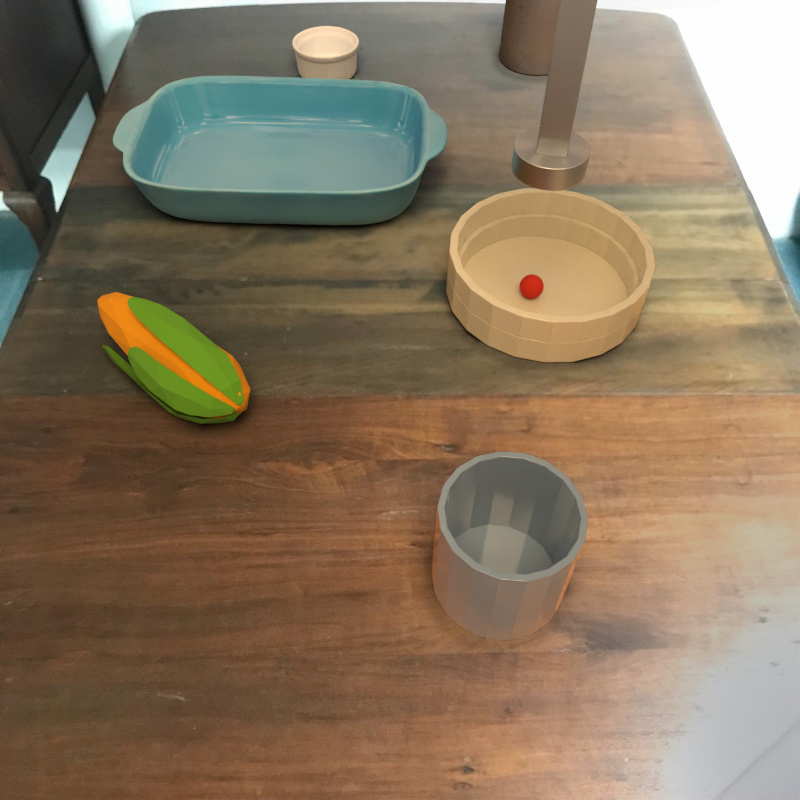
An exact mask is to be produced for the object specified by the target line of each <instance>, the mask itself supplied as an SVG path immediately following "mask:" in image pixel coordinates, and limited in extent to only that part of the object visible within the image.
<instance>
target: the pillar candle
mask: <svg viewBox="0 0 800 800" xmlns="http://www.w3.org/2000/svg"><path fill="white" fill-rule="evenodd" d="M559 3H560V0H505V4H504V11H503V18H502V27H501V35H500V45H499V49H498V58H499V61H500V63H502V65H504V66H505V67H506V68H507V69H509V70H510V71H513V72H516V73H519V74H522V75H523V74H524V75H529V76H544V75H545V76H546V75H547V76H548V72H549V65H550V59H551V53H552V47H553V41H554V34H555V28H556V22H557V16H558V9H559Z"/></svg>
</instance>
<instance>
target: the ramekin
mask: <svg viewBox="0 0 800 800" xmlns="http://www.w3.org/2000/svg"><path fill="white" fill-rule="evenodd" d="M291 46H292V49H293V50H294V55H295V60H296V68H297V71H298V74H299V75H300V78H323V79H352V78H353V77H354V76H355V74H356V72H357V66H358V50H359V46H360V39H359V37H358V36H357V34H356V33H354V32H353V31H351V30H349V29H347V28H343V27H340V26H333V25H318V26H313V27H309V28H306V29H303V30H301V31H300V32H299V33H297V34H296V35H295V36H294V37H293V38H292V45H291Z"/></svg>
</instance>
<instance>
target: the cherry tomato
mask: <svg viewBox="0 0 800 800" xmlns="http://www.w3.org/2000/svg"><path fill="white" fill-rule="evenodd" d="M519 288H520V292H521V293H522V295H523V296H525V297H526V298H530V299H532V298H536V297H538V296H539V295H540V294H541V293H542V291H543V288H544V284H543V281H542V279H541V278H540V277H539V276H537V275H534V274H530V275H527V276H525V277H524V278H523V279H522V280H521V282H520V286H519Z"/></svg>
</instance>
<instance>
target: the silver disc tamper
mask: <svg viewBox="0 0 800 800" xmlns="http://www.w3.org/2000/svg"><path fill="white" fill-rule="evenodd" d="M597 5H598V0H560V3H559V9H558V16H557V22H556V28H555V34H554V41H553V47H552V53H551V59H550V65H549V72H548V75H547V79H546V84H545V90H544V98H543V104H542V110H541V117H540V122H539V126H536V127H532V128H528V129H525V130H524V131H522V132H521V133H519V134H518V135H517V137H516V138H515V140H514V143H513V148H512V155H511V162H510V168H511V172H512V174H513V175H514V177H515V178H516V179H517V180H518V181H519V182H521V183H523V184H524V185H526V186H527V187H529V188H536V189H540V190H547V191H560V190H566V191H567V190H569V189H572V188H574V187H576V186H579V184H581V183H582V182H583V180H584V179H585V177H586V174H587V170H588V165H589V161H590V156H591V147H590V144H589V142H588V141H587V140H586V139H585V138H584V137H583V136H582V135H580V134H578V132H575V131H573V127H574V122H575V116H576V113H577V107H578V102H579V96H580V92H581V86H582V81H583V77H584V70H585V66H586V61H587V56H588V52H589V46H590V40H591V37H592V36H591V34H592V31H593V24H594V21H595V14H596V9H597Z"/></svg>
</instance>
